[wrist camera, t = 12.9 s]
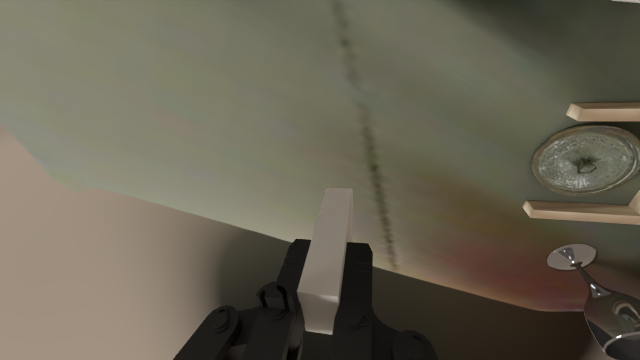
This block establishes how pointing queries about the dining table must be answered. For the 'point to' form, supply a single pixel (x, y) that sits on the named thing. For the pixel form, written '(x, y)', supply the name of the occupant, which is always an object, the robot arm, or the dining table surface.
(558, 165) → the lid
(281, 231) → the dining table surface
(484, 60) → the dining table surface
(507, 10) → the dining table surface
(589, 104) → the wooden u-shaped frame
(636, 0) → the white cup
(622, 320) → the wine glass
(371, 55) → the dining table surface
